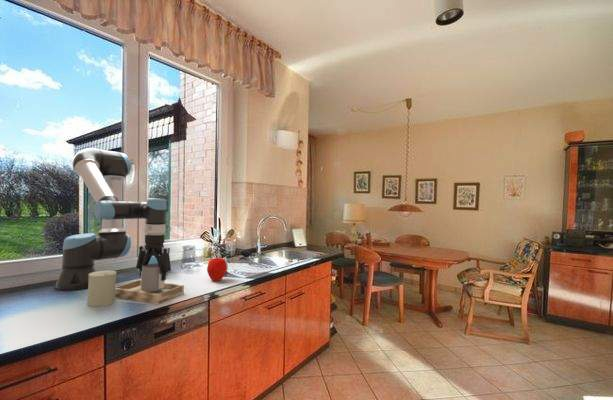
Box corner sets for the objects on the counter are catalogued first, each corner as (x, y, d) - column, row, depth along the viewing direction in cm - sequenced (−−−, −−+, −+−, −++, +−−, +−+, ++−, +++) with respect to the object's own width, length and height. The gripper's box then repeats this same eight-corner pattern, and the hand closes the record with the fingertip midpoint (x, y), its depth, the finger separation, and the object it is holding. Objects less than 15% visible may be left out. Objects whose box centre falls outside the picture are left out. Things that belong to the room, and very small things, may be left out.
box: (110, 296, 120) (110, 288, 120) (139, 286, 134) (139, 279, 134) (158, 304, 114) (159, 295, 114) (183, 293, 129) (184, 285, 129)
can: (93, 308, 107) (94, 276, 107) (82, 302, 112) (84, 272, 112) (120, 301, 115) (121, 271, 115) (108, 296, 120) (110, 268, 120)
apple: (215, 284, 144) (216, 259, 144) (202, 280, 149) (203, 257, 149) (230, 280, 153) (231, 257, 153) (216, 276, 158) (217, 254, 158)
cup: (153, 292, 119) (154, 268, 119) (136, 290, 121) (137, 266, 121) (167, 286, 127) (168, 264, 127) (151, 284, 129) (152, 262, 129)
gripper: (127, 233, 123) (125, 286, 123) (170, 236, 118) (167, 292, 118) (141, 231, 130) (139, 281, 130) (182, 234, 125) (179, 287, 125)
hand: (152, 286), depth 124 cm, fingers closed on cup, 8 cm apart
